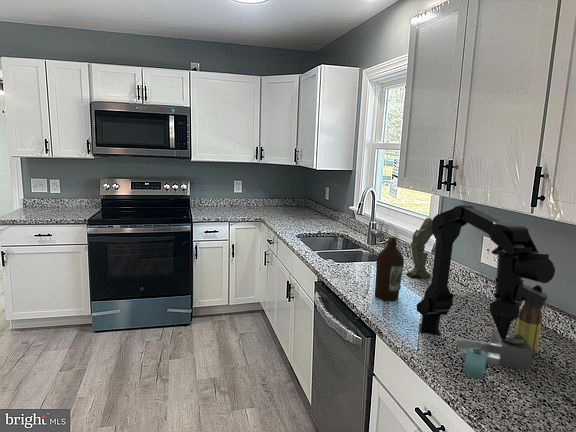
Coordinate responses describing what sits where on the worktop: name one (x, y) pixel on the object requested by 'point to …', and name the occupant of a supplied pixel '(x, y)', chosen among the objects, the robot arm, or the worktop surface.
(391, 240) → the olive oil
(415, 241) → the mechanical leg
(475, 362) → the teal bottle with cap
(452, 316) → the worktop surface
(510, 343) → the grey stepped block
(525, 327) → the sauce bottle
